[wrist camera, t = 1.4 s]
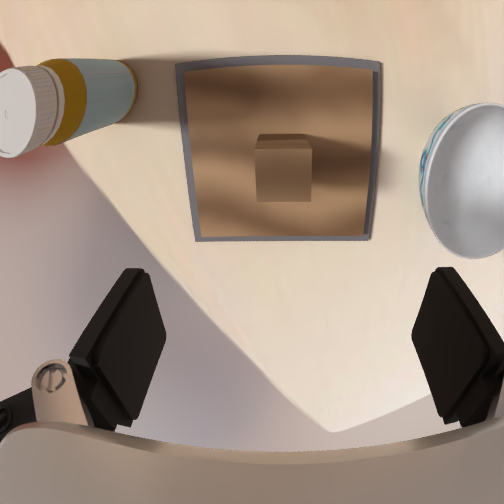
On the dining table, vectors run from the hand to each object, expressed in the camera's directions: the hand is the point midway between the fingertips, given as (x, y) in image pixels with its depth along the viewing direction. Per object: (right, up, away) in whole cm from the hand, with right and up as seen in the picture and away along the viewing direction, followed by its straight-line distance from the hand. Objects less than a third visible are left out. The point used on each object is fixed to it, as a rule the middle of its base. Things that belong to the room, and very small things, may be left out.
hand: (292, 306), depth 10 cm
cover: (+1, +11, +18) cm, 22 cm away
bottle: (-16, +18, +16) cm, 29 cm away
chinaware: (+20, +12, +17) cm, 29 cm away
